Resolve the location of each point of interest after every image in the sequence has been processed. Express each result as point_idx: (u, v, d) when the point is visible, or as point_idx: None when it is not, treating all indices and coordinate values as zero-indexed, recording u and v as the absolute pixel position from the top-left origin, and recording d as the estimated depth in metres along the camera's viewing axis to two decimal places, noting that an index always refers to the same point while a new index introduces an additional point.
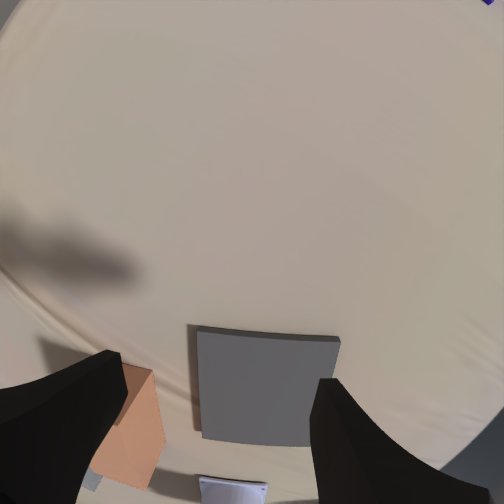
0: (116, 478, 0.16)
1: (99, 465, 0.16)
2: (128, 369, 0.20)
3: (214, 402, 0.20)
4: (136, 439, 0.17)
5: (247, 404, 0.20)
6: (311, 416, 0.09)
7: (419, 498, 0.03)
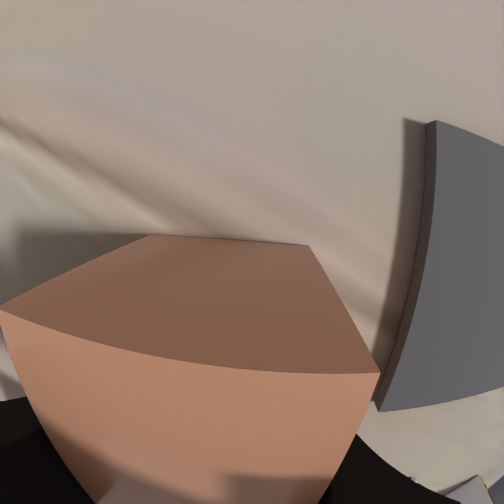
0: None
1: None
2: (247, 245, 0.09)
3: (440, 304, 0.09)
4: None
5: (485, 300, 0.09)
6: None
7: None
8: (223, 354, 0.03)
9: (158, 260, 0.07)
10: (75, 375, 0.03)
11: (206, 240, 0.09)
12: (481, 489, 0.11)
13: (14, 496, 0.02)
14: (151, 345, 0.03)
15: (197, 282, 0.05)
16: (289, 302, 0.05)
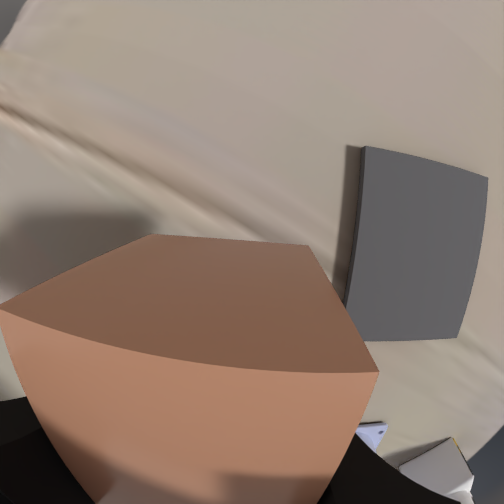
0: None
1: None
2: (247, 244, 0.09)
3: (373, 262, 0.16)
4: None
5: (411, 262, 0.15)
6: None
7: None
8: (222, 353, 0.03)
9: (158, 260, 0.07)
10: (74, 375, 0.03)
11: (205, 240, 0.09)
12: (454, 450, 0.18)
13: (14, 496, 0.02)
14: (150, 344, 0.03)
15: (196, 282, 0.05)
16: (288, 302, 0.05)
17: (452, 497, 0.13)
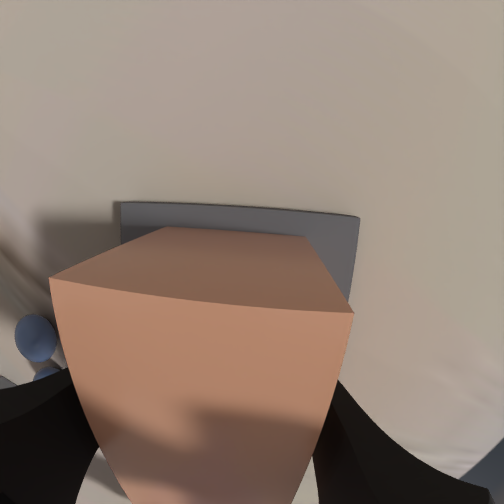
0: None
1: (162, 498, 0.06)
2: (252, 235, 0.10)
3: None
4: None
5: None
6: None
7: (419, 498, 0.03)
8: (241, 299, 0.04)
9: (179, 245, 0.08)
10: (121, 326, 0.05)
11: (216, 231, 0.11)
12: None
13: None
14: (189, 294, 0.04)
15: (215, 259, 0.07)
16: (288, 272, 0.06)
17: None
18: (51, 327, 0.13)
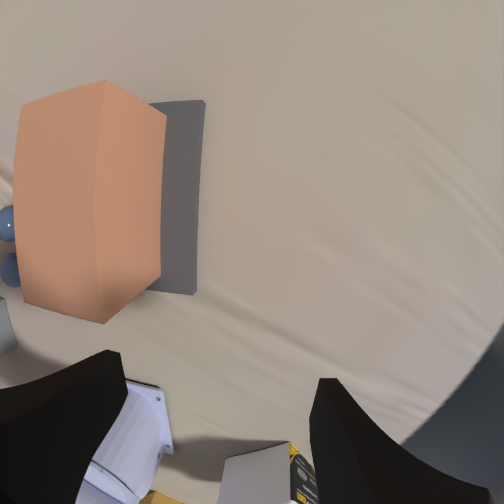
0: (57, 299, 0.11)
1: (35, 263, 0.10)
2: None
3: None
4: (118, 166, 0.11)
5: None
6: (311, 416, 0.09)
7: (419, 498, 0.03)
8: (77, 89, 0.09)
9: None
10: (40, 112, 0.09)
11: None
12: (284, 459, 0.19)
13: None
14: None
15: None
16: None
17: None
18: None
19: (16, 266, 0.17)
